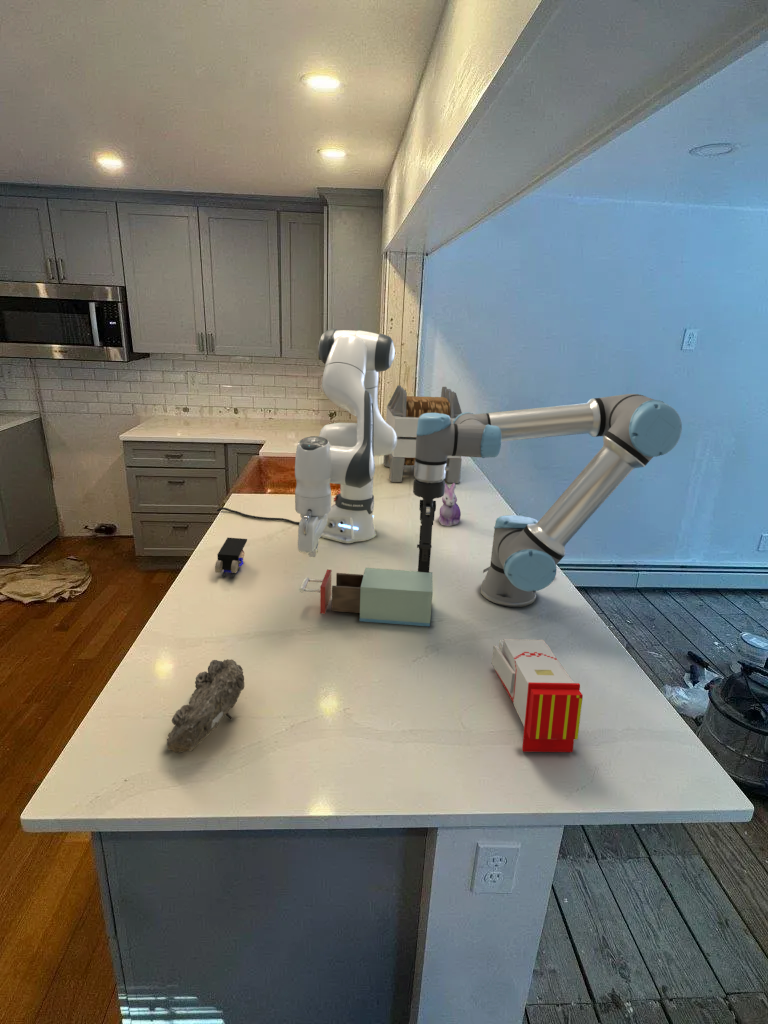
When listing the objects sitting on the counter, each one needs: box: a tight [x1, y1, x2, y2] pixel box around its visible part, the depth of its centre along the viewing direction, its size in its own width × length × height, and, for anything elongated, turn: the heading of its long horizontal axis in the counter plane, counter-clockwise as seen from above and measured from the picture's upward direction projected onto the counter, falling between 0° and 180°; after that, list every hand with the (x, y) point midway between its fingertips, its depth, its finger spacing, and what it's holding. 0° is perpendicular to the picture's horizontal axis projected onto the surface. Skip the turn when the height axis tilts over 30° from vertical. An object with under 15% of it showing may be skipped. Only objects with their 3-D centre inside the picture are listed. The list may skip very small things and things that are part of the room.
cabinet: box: [359, 567, 434, 627], centre depth 146 cm, size 18×11×10 cm, turn 86°
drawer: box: [298, 569, 364, 615], centre depth 147 cm, size 22×10×8 cm, turn 86°
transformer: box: [383, 384, 463, 484], centre depth 268 cm, size 34×33×41 cm
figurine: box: [438, 483, 462, 527], centre depth 210 cm, size 9×10×15 cm
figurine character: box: [214, 537, 248, 578], centre depth 166 cm, size 7×8×15 cm
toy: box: [491, 638, 584, 753], centre depth 114 cm, size 12×13×30 cm
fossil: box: [166, 658, 245, 754], centre depth 106 cm, size 22×10×15 cm
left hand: (313, 555), depth 144 cm, fingers closed
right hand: (423, 560), depth 142 cm, fingers open, 13 cm apart
